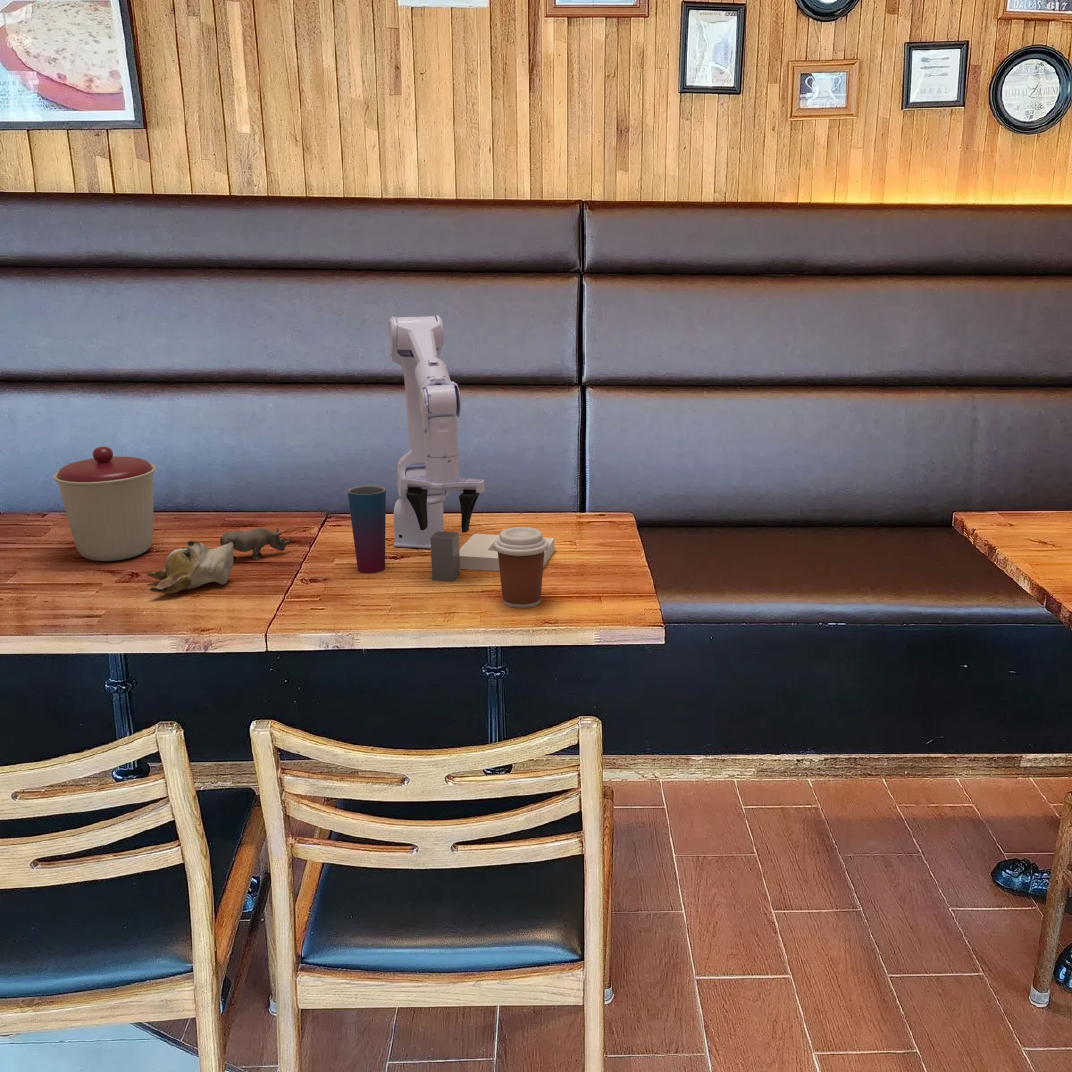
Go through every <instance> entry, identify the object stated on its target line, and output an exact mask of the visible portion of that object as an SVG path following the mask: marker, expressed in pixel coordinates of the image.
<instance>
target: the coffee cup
mask: <svg viewBox="0 0 1072 1072" xmlns="http://www.w3.org/2000/svg"><path fill="white" fill-rule="evenodd" d="M498 535H499V536H500V537H499V538H498V539H497V540H495V542H494V544H493V548H494V549H495V551H497V552H498V560H499V570H500V571H499V578H500V588H501V597H502V603H503V604H504V605H505V607H508V608H513V609H527V608H528V609H529V608H534V607H537V606H539V604H540V605H541V602H542V587H543V576H544V575H543V573H544V568H543V564H544V551H546V550H548V547H549V542H548V541H547V540H546V539H544V538H545V537H544V536H543V532H542V531H541V530H540V529H537V528H534V527H527V526H516V527H510V528H504V529H503V530H501V531H500V533H499V534H498Z"/></svg>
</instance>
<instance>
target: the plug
mask: <svg viewBox="0 0 1072 1072" xmlns="http://www.w3.org/2000/svg"><path fill="white" fill-rule="evenodd" d="M430 540H431V548H430V559H431V560H430V562H431V564H430V565H431V581H433V582H447V583H448V582H449V583H455V582H456V580H457V579H458V578H459V577H460V575H461V569H460V555H459V550H460V532H458V531H444V532H443V531H437V532H436V533H435V534H434V535H433V536H432V537H431V538H430Z"/></svg>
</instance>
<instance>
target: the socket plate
mask: <svg viewBox="0 0 1072 1072" xmlns="http://www.w3.org/2000/svg"><path fill="white" fill-rule="evenodd" d="M499 535H500V534H490V533H489V534H487V533H474V534H472V536H471V537H470V538H469V539H468V540H467V541H466V542H465V543H464V544H463V545H462V546H461V547H460V548H459V555H460V570H471V571H473V570H474V571H484V572H485V571H487V572H500V570H499V560H498V552H497V551H495V549H494V548H493V544H494V542H495V540H497V539H498V538H499V537H500V536H499ZM543 538H544V539H546V540H547V541H548V542H549V547H548V550H546V551H544V564H543V569H544V567H545V566H546V565H547V563H548V561H549V560H550V558H551V557H552V555H553V553H554V552H555V537H543Z"/></svg>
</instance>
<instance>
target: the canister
mask: <svg viewBox="0 0 1072 1072" xmlns="http://www.w3.org/2000/svg"><path fill="white" fill-rule="evenodd" d="M92 457H93V458H87V459H83V460H78V461H74V462H71V463H69V464H66V465H65V466H64V465H63V466H62V467H61V468H60V469H59V470H58V471H56V472H54V474H53V475H52V478H53V480H54V481H55V482H56V483H57V485H58V489H59V492H60V497H61V501H62V503H63V507H64V511H65V514H66V518H67V522H68V524H69V525H68V526H69V528H70V531H71V535H72V538H73V542H74V544H75V548H76V550H77V552H78V553H79V554H80V555H81V556H82V557H83V558H85V559H87V560H90V561H95V562H96V561H97V562H114V561H115V562H116V561H122V560H126V559H131V558H135V557H139V556H141V555H142V554H143V553H145V552H147V551H148V550H149V549H150V547H151V546H152V543H153V536H154V473H155V472H156V471H157V466H156V465H155V464H154V463H151V462H148V460H145V459H142V458H140V457H133V456H114V451H113V450H112V448H110V447H108V446H98V447H96V448H94V450H93V452H92Z"/></svg>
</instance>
